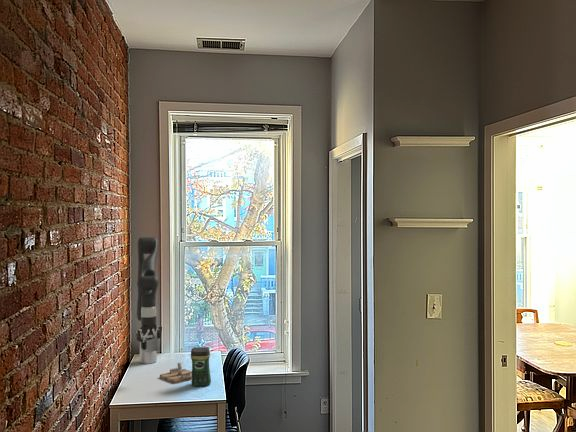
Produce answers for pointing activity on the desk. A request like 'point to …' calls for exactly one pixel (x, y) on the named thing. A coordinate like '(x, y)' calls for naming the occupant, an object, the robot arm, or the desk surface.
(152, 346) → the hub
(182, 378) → the stand
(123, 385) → the desk surface
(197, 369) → the coffee jar
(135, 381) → the desk surface
